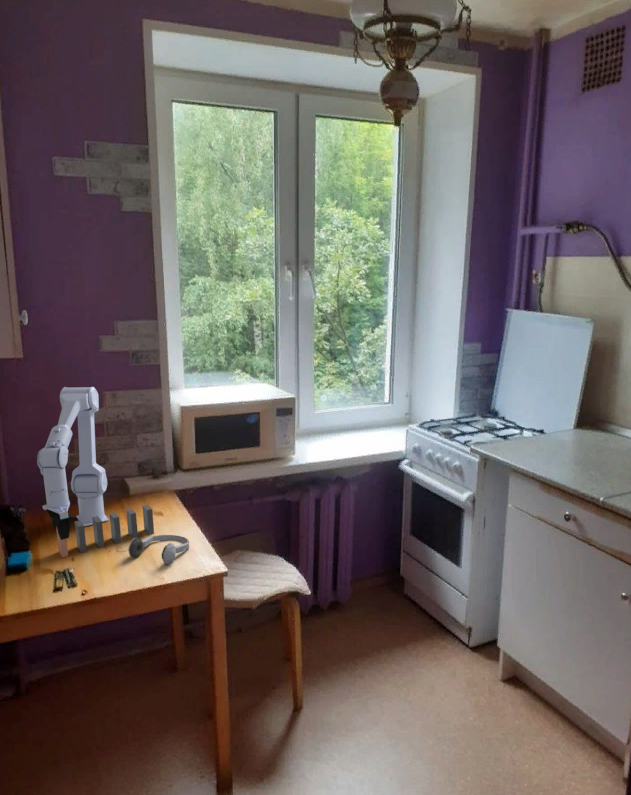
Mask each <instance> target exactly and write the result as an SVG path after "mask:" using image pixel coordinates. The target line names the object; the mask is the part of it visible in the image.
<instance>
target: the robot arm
mask: <svg viewBox="0 0 631 795" xmlns="http://www.w3.org/2000/svg"><path fill="white" fill-rule="evenodd" d="M59 401H60V406H61V411H60V414H59V418H58V422H57V424H56V425H55V426H53V427H52V428H51V431H50V432H49V435H48V438H47V439H46V440H47V441H46V443H45V446H44V447H43V448H41V449H40V450H39V451H38V453H37V457H36V458H37V460H36V463H37V466H38V468H39V470H40V474H41V476H43V477H42V478H43V484H44V490H45V499H46V504H44V505H42V510H44V511H46V512H47V513H48V514H49V518H50V521H51V523H52V526H53V528H54V530H55V531H57V530H58V534H59V537H60V539H61V540H63V539H66V540H67V539H69V538H70V534H71V532H70V531H71V525H72V522H73V520H74V519H75V518H74V517H76V518H77V521H79V520H80V521H81V522H82V523H83V525H84V527H87V526H88V527H89V526H93V520H92V517H96V516H98V517H99V518H100V519H101V521H102V523H104V522H108V521H110V518H109V517H108V516H107V515H106V514H105V507H104V506H105V505H104V493H105V492H106V491H107V487H108V478H107V475H106V473H107V472H106V468H104V467H103V466H101V465H100V464H98V463H97V456H96V454H97V453H96V433H95V432H96V430H95V429H96V428H95V413H97V412H99V407H100V404H99V402H100V401H99V393H98V391H97V389H96V388H95V387H94V386H90V387H89V386H88V387H85V386H83V387H78V386H77V387H67V386H64V387H62V389H61V390H60V393H59ZM76 418H77V433H78V436H77V437H78V456H79V458H78V459H79V465H78V466H77V467H76V468H74V469H73V471H72V473H71V481H70V488H71V491H72V493H73V494H75V495H76V498H77V505H78V514H77V515H76V516H75V515H74V513H68V511H69V508H70V505H71V502H70V499H69V498H70V497H69V492H68V483H67V482H68V481H67V474H66V466H67V464H68V462H69V460H68V459H69V449H68V448H69V445H70V443H71V440H72V437H73V431H72V429H71V428H72V426H73V424H74V423H75V420H76ZM56 527H57V530H56Z"/></svg>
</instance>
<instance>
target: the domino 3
mask: <svg viewBox="0 0 631 795" xmlns="http://www.w3.org/2000/svg"><path fill="white" fill-rule="evenodd" d="M92 520H93V525H92V528H93V537H94V538H93V540H94V543H95V545H96V546H97V549H98V548H99V549H101V548H103V547H105V541H104V530H103V522H102V521H101V519H100V518H99V517H98V516H96V517H92Z"/></svg>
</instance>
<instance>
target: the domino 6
mask: <svg viewBox="0 0 631 795" xmlns="http://www.w3.org/2000/svg"><path fill="white" fill-rule="evenodd" d="M141 507H142V517H143V518H142V519H143V529H145V530H146V531H147V532H146V531H145V530H144V531H145V532H146V533H147V535H149V534H150V535H153V534H152V533H154V534H155V528H154V526H155V525H154V516H153V515H154V514H153V508H152V507H151V506H150V505H149V504H143V505H142V506H141Z"/></svg>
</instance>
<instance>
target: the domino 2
mask: <svg viewBox="0 0 631 795" xmlns="http://www.w3.org/2000/svg"><path fill="white" fill-rule="evenodd" d="M74 528H75V529H74V530H75V536H76V538H75V539H76V547H77V549H78V550H79V551H80V553H85V552H87V550H88V549H87V541H86V533H85V532H86V531H85V526H84V525H83V523H82V522H81V521H80V520H75V521H74Z"/></svg>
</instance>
